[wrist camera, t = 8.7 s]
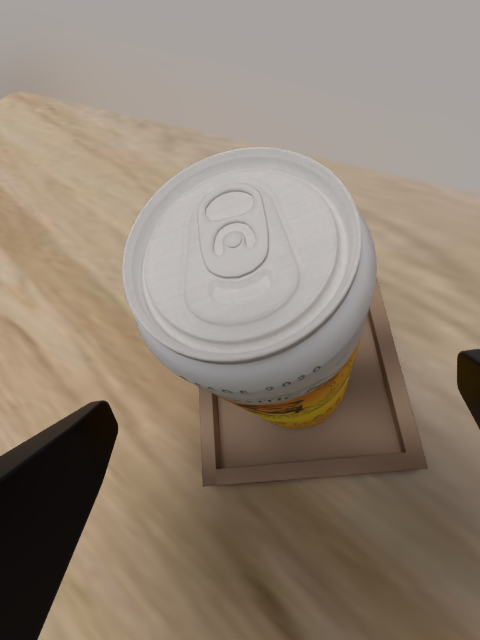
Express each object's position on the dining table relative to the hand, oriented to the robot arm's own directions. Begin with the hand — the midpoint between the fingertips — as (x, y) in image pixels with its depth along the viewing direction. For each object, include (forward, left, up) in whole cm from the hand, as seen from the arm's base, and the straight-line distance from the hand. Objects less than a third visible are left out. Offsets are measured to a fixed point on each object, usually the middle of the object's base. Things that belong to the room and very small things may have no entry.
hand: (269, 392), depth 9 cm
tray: (+2, +3, -13) cm, 13 cm away
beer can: (+1, +2, -12) cm, 13 cm away
